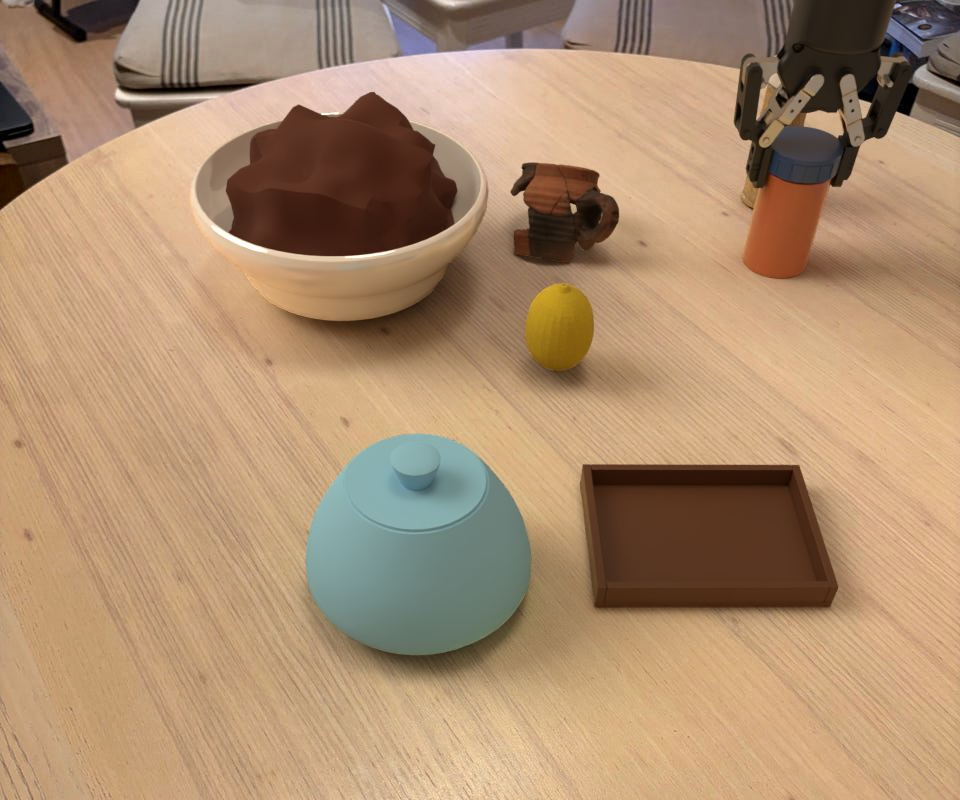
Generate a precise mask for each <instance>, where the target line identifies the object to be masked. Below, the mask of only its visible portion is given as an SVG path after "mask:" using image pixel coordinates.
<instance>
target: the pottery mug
mask: <svg viewBox="0 0 960 800" xmlns="http://www.w3.org/2000/svg"><path fill="white" fill-rule="evenodd" d="M520 169H521V170H522V171H521V176H520V177H518V179H516V180H515V182H514V183H513V186H512V188H511V189H510V192H509V193H510V194H511V196H512V197H516V196H518V195H519V194H520V193H521V192H523V194H522V199H523V203H524V205H525V206H527V207H528V208H527V217H528V228H526V229H523V228H522V229H521V228H516V229H514V230H513V234H512V239H513V252H514V255H518V256H523V257H532V258H538V259H540V260H543V261H544V260H545V261H549V262H552V261H553V262H558V263H571V262H572V259H573V253H574V251H575V249H576V245H577V243H578V245H579V247H580V249H581V250H583V251H584V252H587V251H590V249H591V248H593V246H594V245H595V244H600V243H603V242H604V241H605V240H607V239H609V237H610V236H611V235H612V234H613V232H614V231H615V229H616V227H617V225H618V224H619V221H620V208H619V205H618V203H617V200H616V199H615V198H614V197H613V196H612V195H609V194H606V193H603V192H601V189H600V187H599V185H598V183H599V179H600V173H599V172H598V171H596V170H594V169H591V168H587V167H581V166H577V165H576V166H575V165H569V164H561V163H560V164H559V163H558V164H556V163H547V162H545V163H544V162H534V161H533V162H524V163H522V164H521V167H520ZM572 205H573V206H575V209H576V211H575V212H574V213H573V212H572V207H571V206H572Z"/></svg>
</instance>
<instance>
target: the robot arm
mask: <svg viewBox="0 0 960 800" xmlns="http://www.w3.org/2000/svg"><path fill="white" fill-rule="evenodd" d="M896 2H897V0H794V2H793V6H792V10H791V14H790V17H789V23H788V27H787V32H786V37H785V40H784V43H783V45H782V47H781V48H780V50H779V51H778V52H777V54H775V55H776V56H775V55H773V56H766V57H756V55H755V54H754V53H746V54H744V56H743V57H742V58H741V60H740V68H739V75H738V81H737V90H736V91H737V92H736V100H735V107H734V114H733V115H734V116H733V125H734V127H735V129H736V130H737V132H738V135H739V138H740V139H741V140H742V141H751V143H750V146H749V147H750V148H749V152H748V156H747V160H746V161H747V162H746V165H745V173H746V177H747V176H748V178H749V180H750V182H752V185H753V187H754V188H763V187H764V184H765V180H766V176H767V172H768V168H769V164H770V160H771V156H772V152H773V147H772V145H771V144H772V143H773V141H774V140H775V139H776V137H777V136H778V135H779V133H780V132H781V131H782V130H783V128H784V127H785V126H789V125H790V124H791V123H792V121H793V120H794V119H795V118H796V116H797V115H798V114H799V112H800V113H807V114H812V113H815V112H818V111H819V112H824V113H827V114H837V113H838V115H839V121H840V125H841V129H842V132H843V133H842V134H839V135H838V136H837V138H838V139H839V140H840V141H841V143H842V144H843V147H844V151H843V154H842V158H841V163H840V166H839V169H838V173H837V174H836V175H835V176H834V177H833V178H832V181H831V185H830V187H832V188H841V187H842V186H843V184H844V181H848V179H849V178H850V177H851V175H852V173H853V170H854V166H855V163H856V160H857V157H858V154H859V150H860V148H861V145H862V144H863V143H865V142H866V141H867V140H872V139H874V138H875V139H877V140H880V139H881V140H882V139H883V138H884V137H886V136H887V134H888V132H889V129H890V128H891V125H892V123H893V120H894V118H895V116H896V113H897V111H898V109H899V106H900V103H901V101H902V99H903V97H904V94H905V92H906V89H907V87H908V85H909V82H910V80H911V78H912V75H913V74H914V73H913V72H914V67H913V66H912V65H911V63H910V62H909V61H908V60H907V58H906V57H905V55H904V54H903V53H902V52H899V51H897V52H894V53H892V54H891V55H890V56H883V55H881V46H882V44H883V42H884V40H885V38H886V35H887V32H888V28H889V24H890V22H891V18H892V15H893V12H894V9H895V6H896ZM775 73H777V74H778V77H779V79H780V81H781V84H780V85H779V87H778V88H777V89H776V91H775V92H774V93H773V95H772V96H771V97H770V99H769V101H768V105H767V107H766V109H765V110H764V111H763V113H762V114H761V115H760V114H759V116H760V117H759V116H758V109H759V102H760V97H761V90H762V89H766V88H767V84H768V81H769V78H770V77H771V76H772V75H773V74H775ZM876 75H877V77H876ZM875 77H876V80H877V82H878V85H877V88H876V91H875V93H874V96H873V98H872V101H871V103H870V106H869V108H868V110H867V113H866V116H865V117H863V113H862V109H861V104H860V100H859V99H860V98H859V95H858V94H859V93H860V92H861V91H862V90H863V89H864V88H865V87H866V86H867V85H868V84H869V83H870V82H871V80H872V79H874V78H875ZM788 99H789V101H788ZM787 101H788V102H787ZM786 103H787V104H786ZM757 117H758V118H757Z"/></svg>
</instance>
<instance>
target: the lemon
mask: <svg viewBox="0 0 960 800" xmlns="http://www.w3.org/2000/svg"><path fill="white" fill-rule="evenodd" d="M594 321H595V319H594V311H593V307H592V304H591V302H590V301H589V298H588V297H587V296H586V294H585V293H584V292H583V291H582V290H580V289H579V288H578V287H576V286H574V285H571V284H569V283H566V282H561V283H555V284H552V285H549V286H547V287H545V288H544V289H542V290H541V291H539V293H537V295H536V296H535V298H534V299H533V300H532V302H531V304H530V306H529V308H528V312H527V315H526V319H525V325H524V336H525V343H526V348H527V349H528V352H529V354H530V356H531V357H532V359H533V360H534V361H535V362H536V363H537V364H538V365H540V366H541V367H542V368H545V369H548V370H550V371H553V372H559V371H566V370H569V369H571V368H573V367H575V366H577V365H578V364H579V363H580V362H581V361H582V360H583V359H584V358H585V357H586V355H588V352H589V351H590V347H591V345H592V342H593V339H594V335H595V322H594Z"/></svg>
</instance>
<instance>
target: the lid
mask: <svg viewBox="0 0 960 800" xmlns="http://www.w3.org/2000/svg"><path fill="white" fill-rule="evenodd" d="M771 145H772V147H773V152H772V156H771V160H770V164H769V168H768V171H769V172H770V173H772V174H773V175H775V176H777V177H779V178H781V179H784V180H788V181H791V182H796V183H808V184H811V183H820V182H824V181H827V180H830V179H831V178H833V177H834V176H835V175H836V174H837V173H838V169H839V166H840V163H841V158H842V154H843V151H844V147H843V144H842V143H841V141H840V140H839V139H838V136H837V137H836V136H835V135H834V134H832V133H830V132H827V131H825V130H822V129H819V128H815V127H812V126H811V127H810V126H804V127H803V126H791V127H784V128H783V130H782V131H781V132H780V133H779V135H778V136H777V137H776V139H775V140H774V141H773V143H772V144H771Z"/></svg>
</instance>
